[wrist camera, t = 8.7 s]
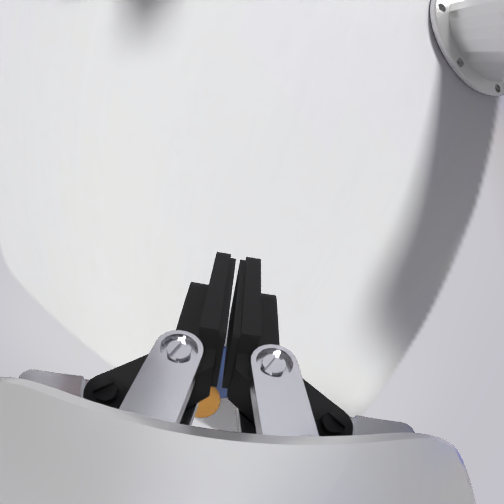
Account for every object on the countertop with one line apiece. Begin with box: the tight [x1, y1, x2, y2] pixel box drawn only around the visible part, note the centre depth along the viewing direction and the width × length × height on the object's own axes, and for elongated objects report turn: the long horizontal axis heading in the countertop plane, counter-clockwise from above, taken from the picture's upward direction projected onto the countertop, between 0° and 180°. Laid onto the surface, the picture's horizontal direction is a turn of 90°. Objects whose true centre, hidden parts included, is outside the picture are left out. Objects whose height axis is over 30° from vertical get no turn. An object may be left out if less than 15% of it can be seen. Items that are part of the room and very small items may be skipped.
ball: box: [195, 386, 220, 418], centre depth 37 cm, size 6×6×6 cm
